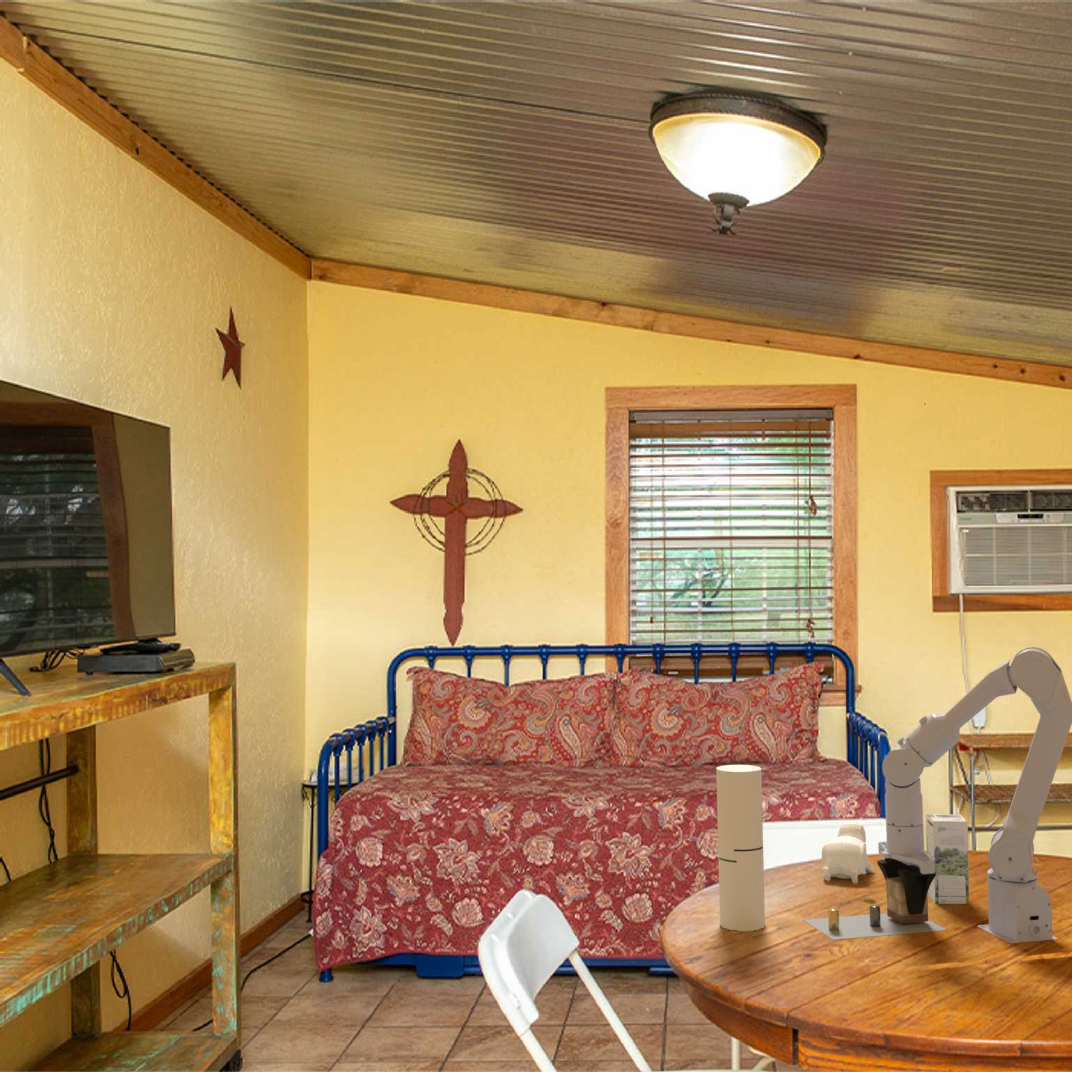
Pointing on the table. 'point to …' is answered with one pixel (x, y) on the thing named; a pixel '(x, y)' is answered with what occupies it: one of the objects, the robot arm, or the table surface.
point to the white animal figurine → (846, 854)
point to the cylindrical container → (740, 847)
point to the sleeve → (901, 903)
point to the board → (870, 927)
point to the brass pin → (833, 919)
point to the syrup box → (948, 858)
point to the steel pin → (875, 916)
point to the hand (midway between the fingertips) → (907, 909)
